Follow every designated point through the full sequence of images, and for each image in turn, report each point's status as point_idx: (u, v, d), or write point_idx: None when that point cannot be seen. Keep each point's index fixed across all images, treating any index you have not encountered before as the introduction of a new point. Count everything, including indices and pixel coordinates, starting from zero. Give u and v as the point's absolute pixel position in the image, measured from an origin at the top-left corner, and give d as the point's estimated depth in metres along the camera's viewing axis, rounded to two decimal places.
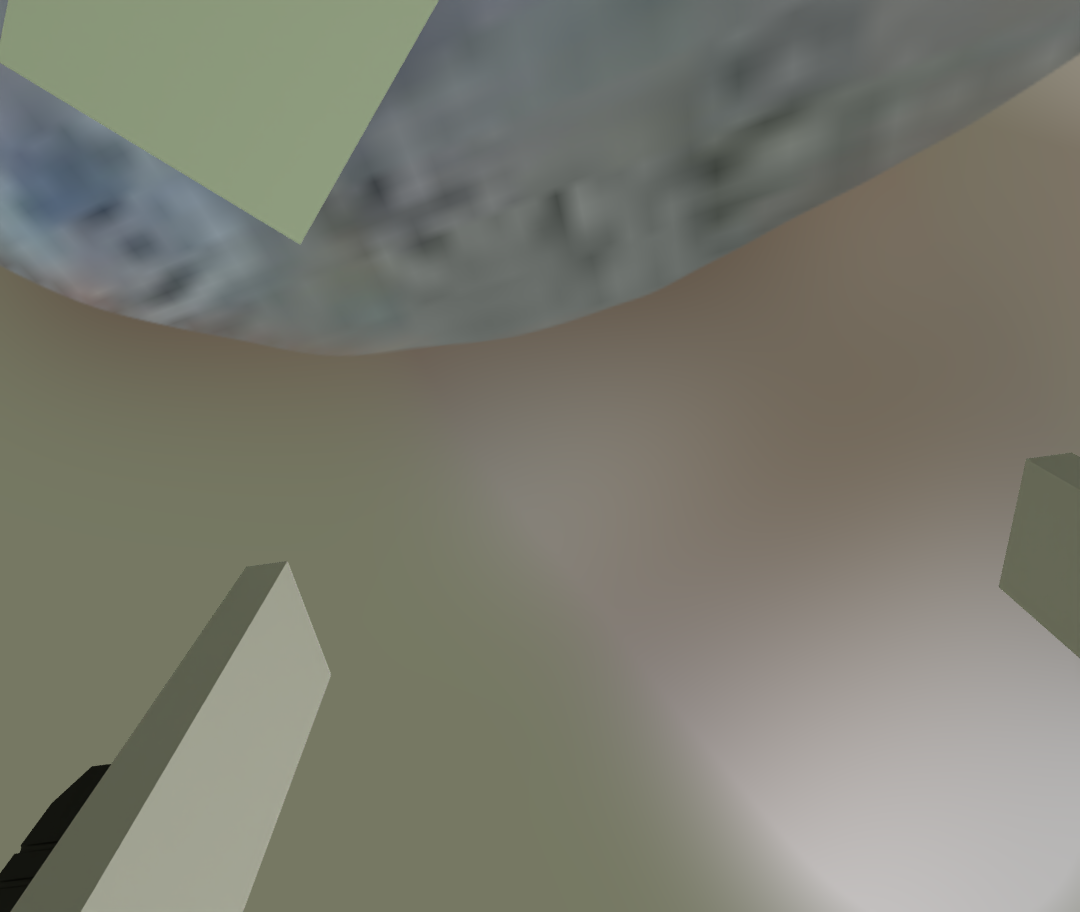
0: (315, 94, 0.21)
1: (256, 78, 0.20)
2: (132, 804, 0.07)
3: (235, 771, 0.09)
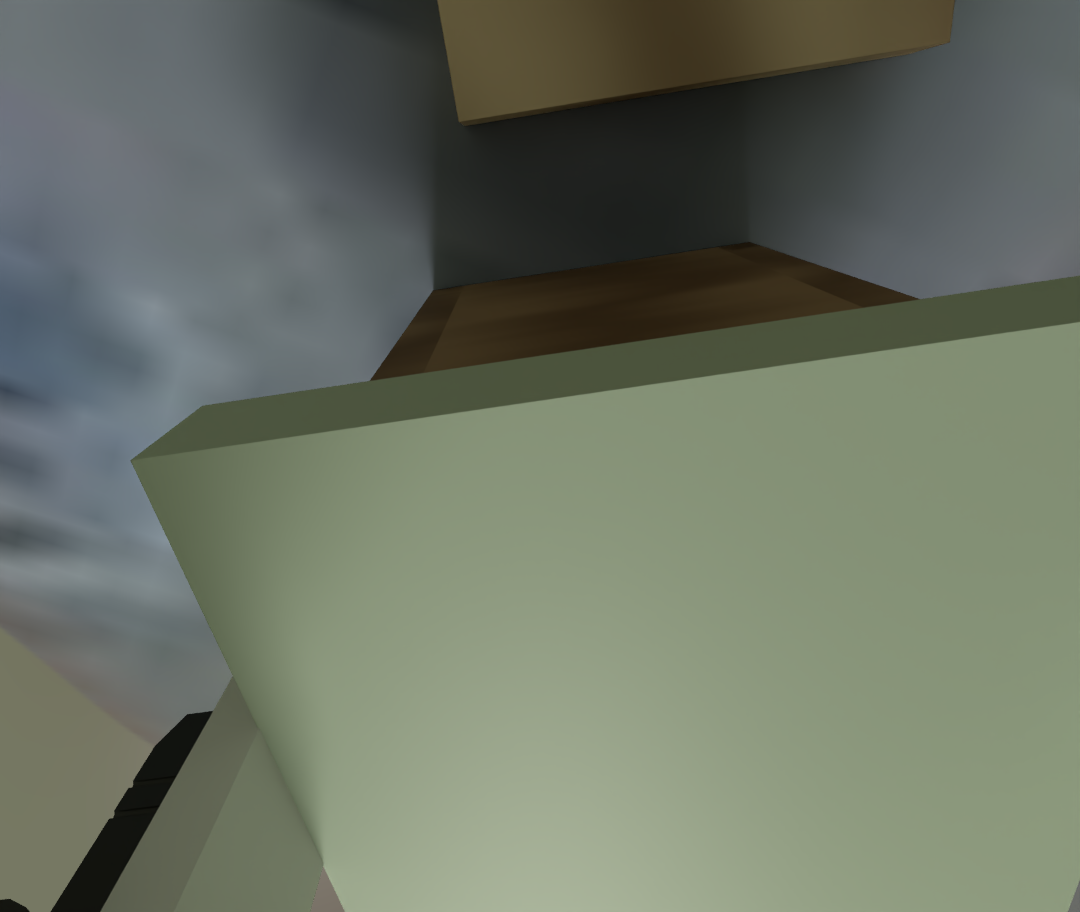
0: (697, 897, 0.09)
1: (640, 832, 0.09)
2: (243, 739, 0.07)
3: None
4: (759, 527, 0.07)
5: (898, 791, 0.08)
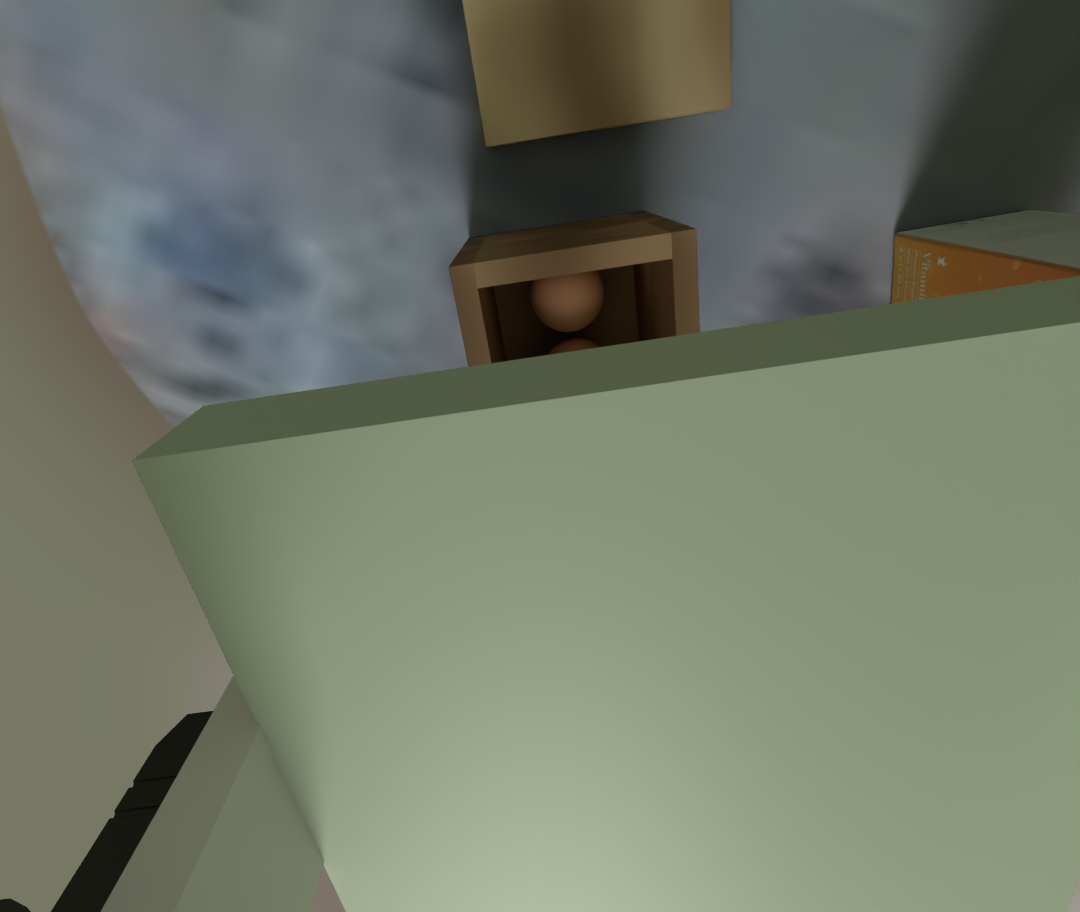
0: (696, 896, 0.09)
1: (640, 832, 0.09)
2: (243, 738, 0.07)
3: None
4: (758, 527, 0.07)
5: (898, 791, 0.08)
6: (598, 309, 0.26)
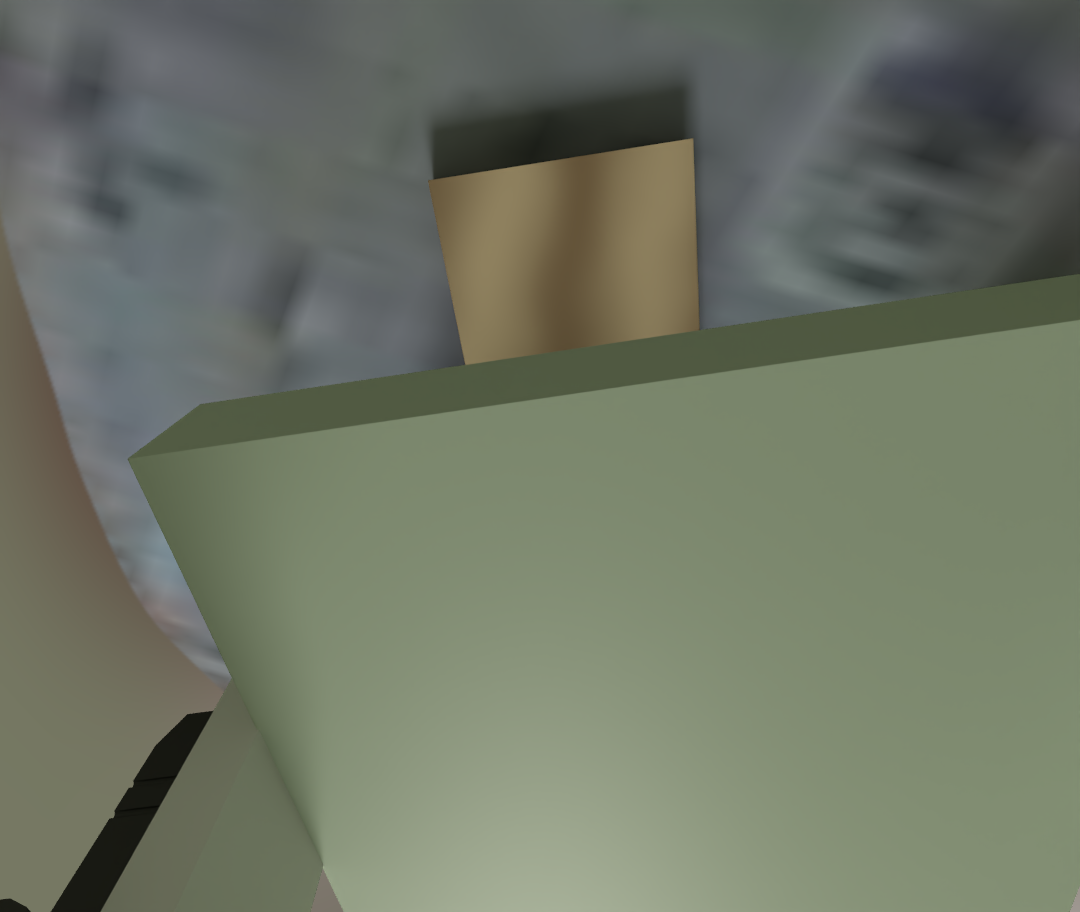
0: (697, 897, 0.09)
1: (640, 833, 0.09)
2: (243, 739, 0.07)
3: None
4: (760, 526, 0.06)
5: (899, 792, 0.08)
6: None
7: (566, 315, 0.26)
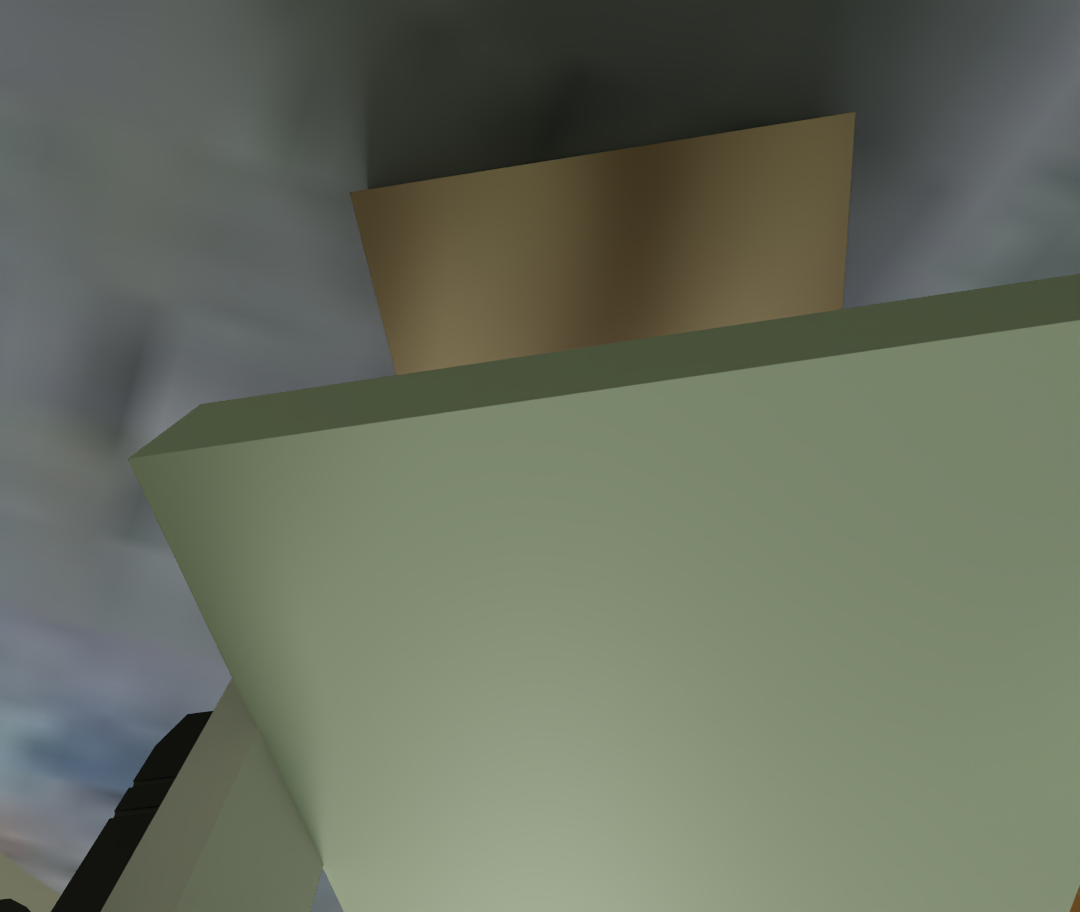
0: (697, 897, 0.09)
1: (640, 833, 0.09)
2: (243, 738, 0.07)
3: None
4: (760, 526, 0.06)
5: (899, 791, 0.08)
6: None
7: None
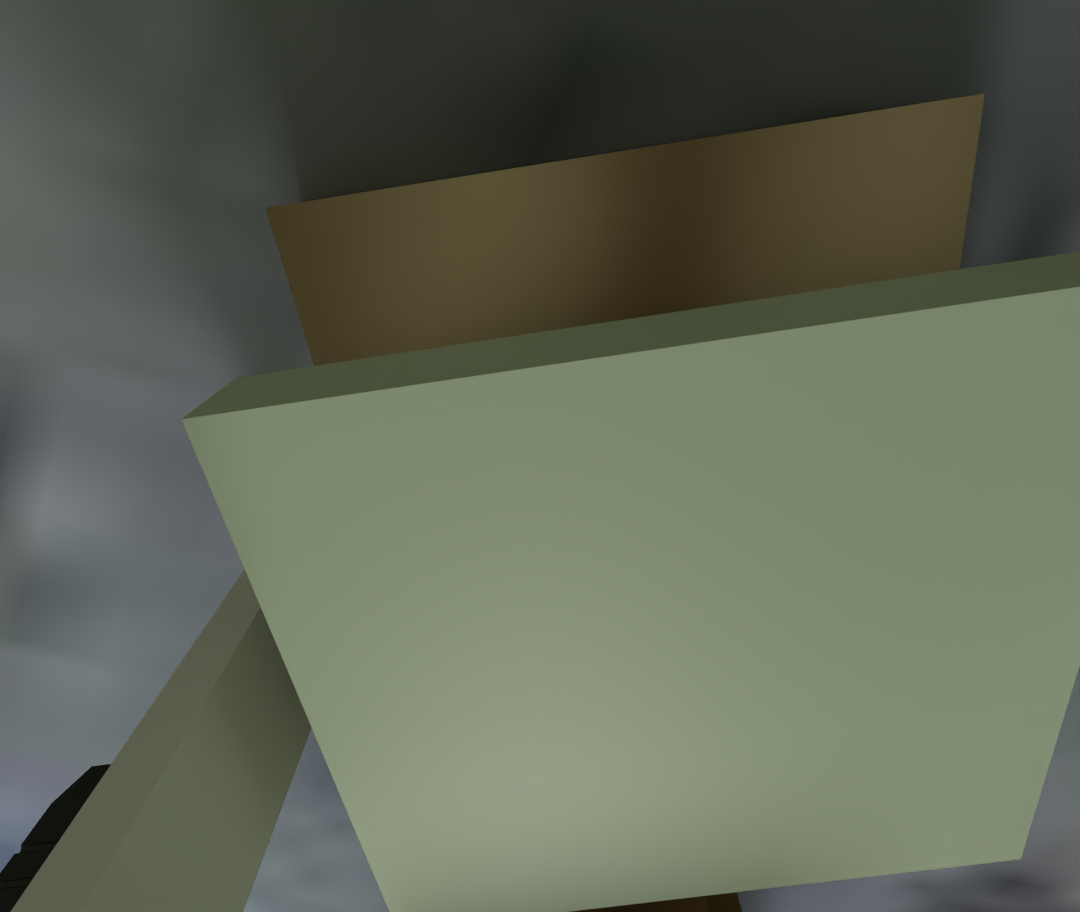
0: (682, 832, 0.10)
1: (630, 768, 0.09)
2: (132, 804, 0.07)
3: (235, 771, 0.09)
4: (732, 481, 0.07)
5: (864, 730, 0.09)
6: None
7: None
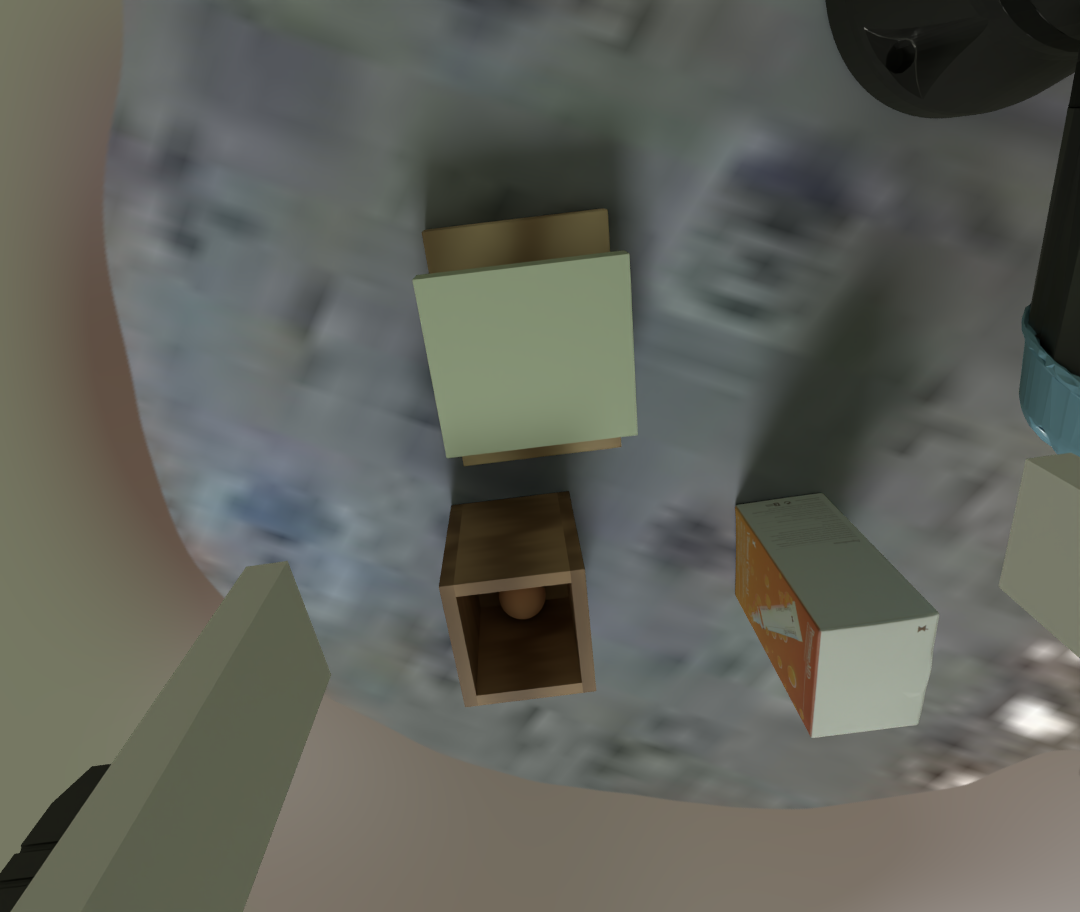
0: (533, 417, 0.35)
1: (516, 390, 0.34)
2: (132, 804, 0.07)
3: (235, 771, 0.09)
4: (536, 300, 0.32)
5: (580, 380, 0.34)
6: None
7: None
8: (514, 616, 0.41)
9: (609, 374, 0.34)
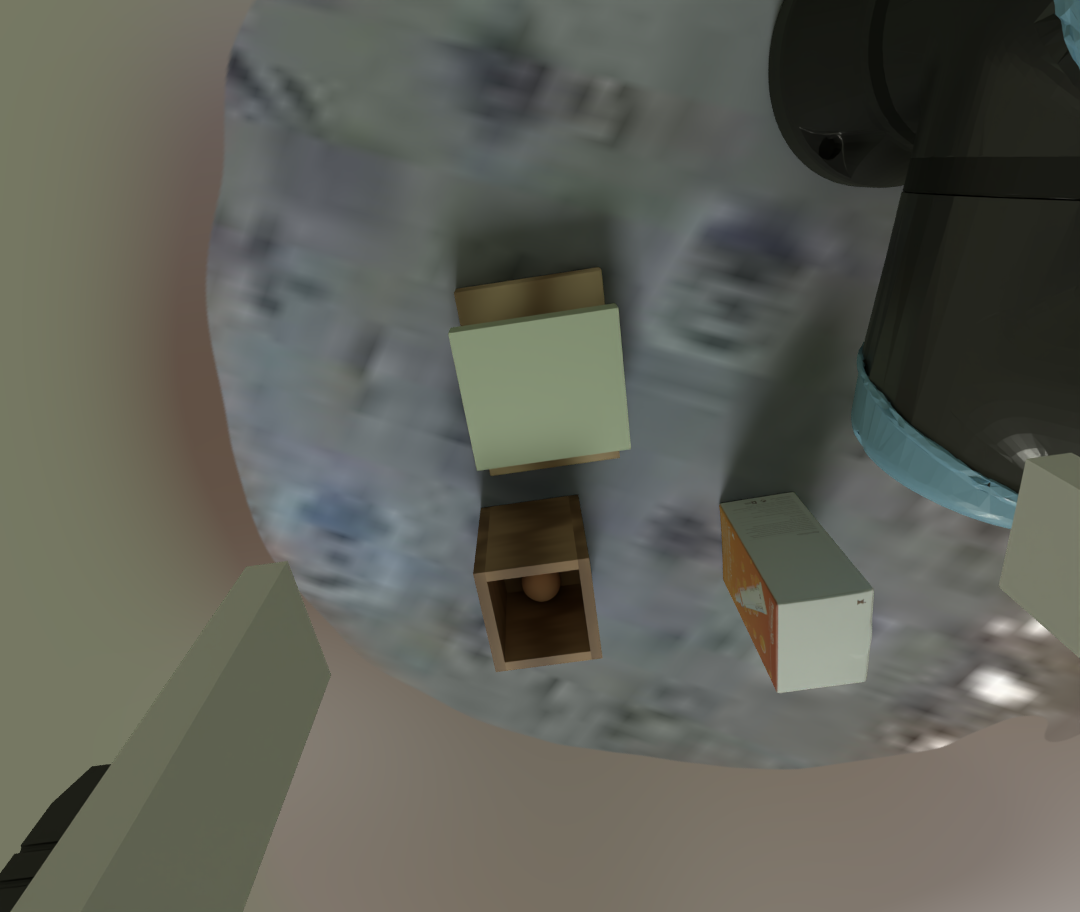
0: (546, 437, 0.43)
1: (532, 416, 0.42)
2: (132, 804, 0.07)
3: (235, 771, 0.09)
4: (545, 345, 0.40)
5: (582, 406, 0.42)
6: None
7: None
8: (534, 599, 0.50)
9: (606, 401, 0.42)
